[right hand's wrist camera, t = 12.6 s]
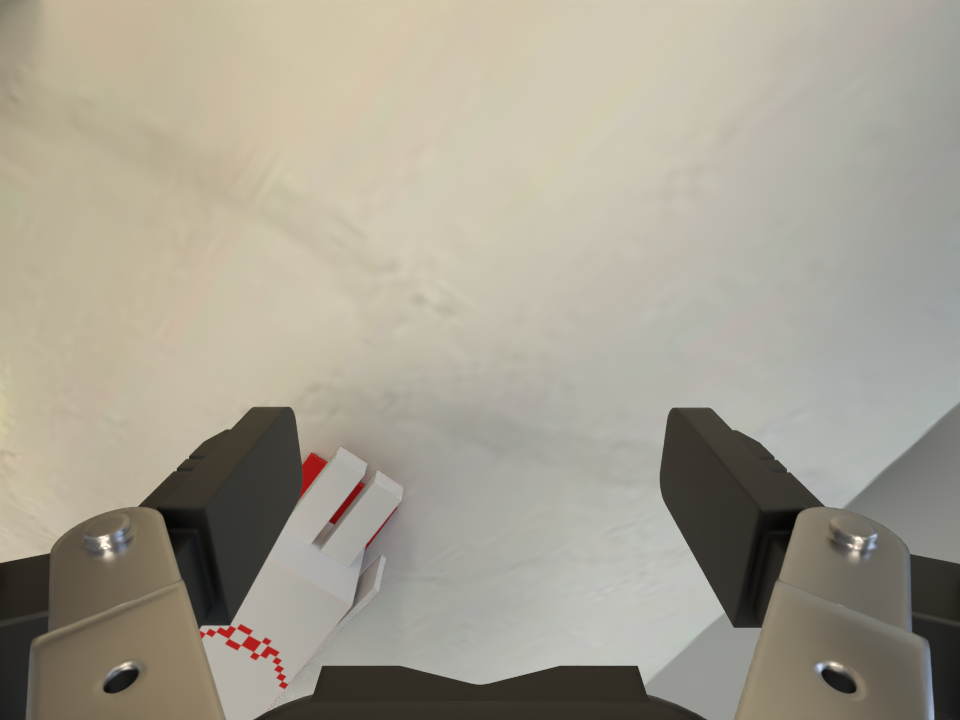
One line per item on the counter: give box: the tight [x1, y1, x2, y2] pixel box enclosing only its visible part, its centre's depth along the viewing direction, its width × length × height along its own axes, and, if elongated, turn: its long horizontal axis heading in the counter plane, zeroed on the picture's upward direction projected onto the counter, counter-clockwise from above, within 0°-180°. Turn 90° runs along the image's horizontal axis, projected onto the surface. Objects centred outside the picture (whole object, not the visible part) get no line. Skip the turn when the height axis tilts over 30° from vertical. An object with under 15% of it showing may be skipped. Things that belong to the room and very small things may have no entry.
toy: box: [199, 446, 404, 720], centre depth 45 cm, size 12×13×30 cm
